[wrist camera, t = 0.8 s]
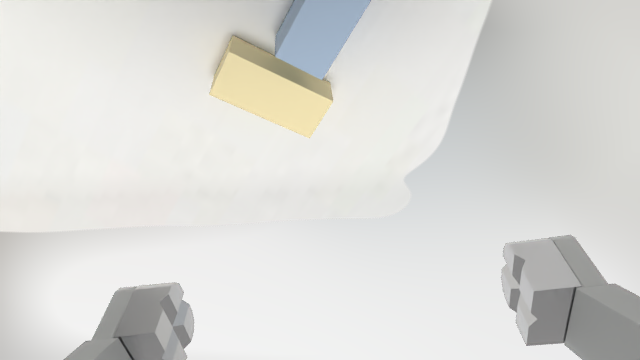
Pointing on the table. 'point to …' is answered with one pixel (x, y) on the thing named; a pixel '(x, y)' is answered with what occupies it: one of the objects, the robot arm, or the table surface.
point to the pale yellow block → (271, 88)
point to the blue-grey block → (316, 33)
